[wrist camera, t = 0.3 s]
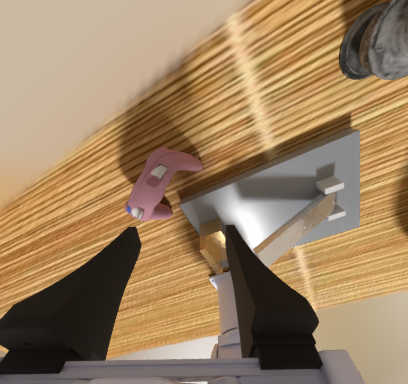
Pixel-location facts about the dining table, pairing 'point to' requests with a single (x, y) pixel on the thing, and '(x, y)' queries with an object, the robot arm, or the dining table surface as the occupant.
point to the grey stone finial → (377, 43)
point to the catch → (213, 244)
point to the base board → (286, 192)
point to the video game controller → (158, 183)
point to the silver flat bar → (295, 228)
